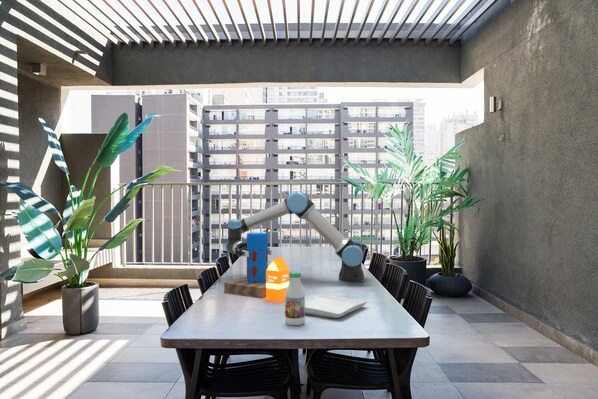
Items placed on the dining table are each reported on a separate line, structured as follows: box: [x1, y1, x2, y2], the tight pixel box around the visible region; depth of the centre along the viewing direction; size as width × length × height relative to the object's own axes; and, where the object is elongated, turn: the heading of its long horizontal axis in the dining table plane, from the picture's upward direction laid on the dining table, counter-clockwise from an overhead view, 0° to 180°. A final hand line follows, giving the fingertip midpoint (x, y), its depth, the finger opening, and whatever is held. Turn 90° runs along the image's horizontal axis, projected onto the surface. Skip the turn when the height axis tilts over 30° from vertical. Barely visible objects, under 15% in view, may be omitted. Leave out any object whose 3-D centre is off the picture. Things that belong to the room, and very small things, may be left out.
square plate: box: [305, 293, 368, 319], centre depth 207 cm, size 27×27×4 cm
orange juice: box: [265, 256, 290, 303], centre depth 226 cm, size 8×9×20 cm
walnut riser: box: [223, 276, 266, 299], centre depth 245 cm, size 24×24×5 cm
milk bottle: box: [284, 271, 306, 326], centre depth 186 cm, size 8×8×20 cm
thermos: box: [246, 232, 269, 283], centre depth 245 cm, size 11×11×25 cm
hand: (259, 253), depth 243 cm, fingers open, 13 cm apart
